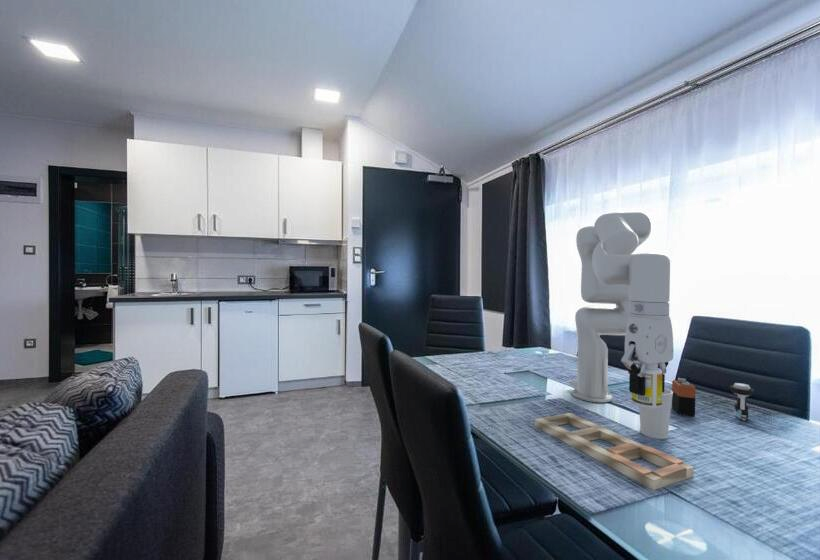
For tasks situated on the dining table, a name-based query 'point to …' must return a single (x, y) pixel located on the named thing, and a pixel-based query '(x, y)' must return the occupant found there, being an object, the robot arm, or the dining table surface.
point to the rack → (617, 451)
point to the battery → (683, 397)
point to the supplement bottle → (650, 388)
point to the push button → (741, 399)
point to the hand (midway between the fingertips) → (646, 391)
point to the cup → (657, 418)
